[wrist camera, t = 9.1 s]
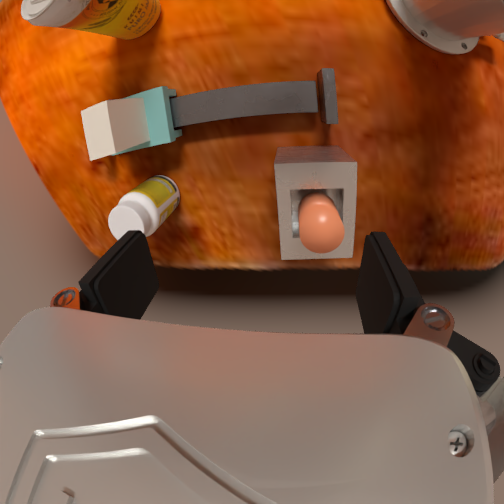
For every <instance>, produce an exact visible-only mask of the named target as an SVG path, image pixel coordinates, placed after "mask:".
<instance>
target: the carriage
mask: <svg viewBox="0 0 504 504" xmlns="http://www.w3.org/2000/svg"><path fill="white" fill-rule="evenodd" d="M173 96H176V90H175V89H168V87H166V86H161V87H157V88H154V89H151V90H147V91H144V92H141V93H138V94H135V95H132V96H129V97H126V98H123V99H115V100H106V101H104V102H101V103H99V104H96V105H94V106H92V107H89V108H87V109H85V110H82V111H81V115H82V121H83V127H84V132H85V137H86V142H87V147H88V152H89V156H90V161H91V160H94V159H98V158H101V157H105V156H108V155H112V156H114V155H117V154H121V153H125V152H129V151H133V150H137V149H141V148H146V147H150V146H155V145H160V144H165V143H170V142H173V141H175V138H177V137H179V136H182V130H181V129H179V130H174V128H173V121H172V115H171V108H170V102H169V97H173Z"/></svg>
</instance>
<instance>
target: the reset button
mask: <svg viewBox="0 0 504 504" xmlns="http://www.w3.org/2000/svg"><path fill="white" fill-rule="evenodd" d="M298 220H299V234H300V240H301V242H302V244H303V245H304V246H305V247H306V248H307V249H308V250H310V251H312V252H315V253H328V252H331V251H333V250H335V249H336V248H337V247H338V246H339V245H340V244H341V243H342V241H343V238H344V234H345V230H344V226H343V223H342V221H341V218H340V216H339V213H338V211H337V209H336V206H335V204H334V202H333V200H332V199H331V198H330V197H329V196H328V195H326V194H324V193H320V192H314V193H310V194H308V195H306V196H305V197H304V198H303V199H302V200H301V201H300V203H299V206H298Z"/></svg>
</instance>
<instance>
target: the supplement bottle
mask: <svg viewBox="0 0 504 504" xmlns="http://www.w3.org/2000/svg"><path fill="white" fill-rule="evenodd" d="M179 200H180V193H179V190H178V187H177V185H176V184H175V182H174V181H173V180H172V179H170V178H168V177H166V176H163V175H156V176H153V177H151V178H149V179H147V180H146V181H144V182H143V183H141V184H140V185H139V186H137V187H136V188H134V189H133V190H131V191H130V192H128V193H127V194H126V195H124V196H123V197H122V198H121V200H120V202H119V204H118V205H117V206H116V207H115V208H114V209H113V210H112V211H111V212H110V214H109V218H108V223H109V228H110V230H111V232H112V234H113V235H114V237H115V238H116V239H117V240H119V239H120V238H121V237H122V236H123V235H124V234H125V233H126V232H127V231H129V230H140V231H142V233H144V234H145V236H146V237H147V236H149V235H151V234H153V233H154V232H155V231H156V230H157V229H158V227H159V226H160V225H161V224H162V223H163V222H164V221H165V220H166V219H167V217H168V216H169V215H170V214H171V213H172V212H173V211H174V210H175V209H176V207H177V206H178V204H179Z"/></svg>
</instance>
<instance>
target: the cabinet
mask: <svg viewBox="0 0 504 504" xmlns="http://www.w3.org/2000/svg"><path fill="white" fill-rule="evenodd" d="M274 168H275V179H276V191H277V204H278V217H279V231H280V246H281V260H293V259H325V258H352V256H353V245H354V232H355V216H356V192H357V162H356V161H355V160H354V159H353V158H352V157H350V156H349V155H348V154H347V153H346V152H345V151H343V150H342V149H341V148H340V147H339V146H295V147H278V149H277V153H276V158H275V163H274ZM314 192H320V193H324V194H326V195H328V196H329V197H330V198H331V199H332V200H333V202H334V204H335V206H336V209H337V211H338V213H339V216H340V218H341V221H342V223H343V226H344V230H345V234H344V238H343V241H342V243H341V244H340V245H339V246H338V247H337V248H336V249H335V250H333V251H331V252H328V253H315V252H312V251H310V250H308V249H307V248H306V247H305V246H304V245H303V244H302V242H301V240H300V234H299V220H298V206H299V203H300V201H301V200H302V199H303V198H304V197H305V196H306V195H308V194H310V193H314Z"/></svg>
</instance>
